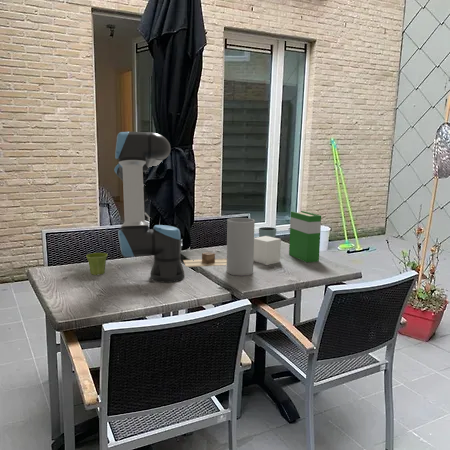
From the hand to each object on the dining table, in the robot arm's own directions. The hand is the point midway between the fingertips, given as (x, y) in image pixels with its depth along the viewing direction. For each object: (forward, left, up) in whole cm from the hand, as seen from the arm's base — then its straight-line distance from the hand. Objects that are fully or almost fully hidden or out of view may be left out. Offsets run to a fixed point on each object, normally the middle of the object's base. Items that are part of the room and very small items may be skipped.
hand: (162, 215), depth 239 cm
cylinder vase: (-38, -33, -22) cm, 55 cm away
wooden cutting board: (-20, -21, -22) cm, 36 cm away
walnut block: (-20, -21, -21) cm, 36 cm away
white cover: (-20, -51, -22) cm, 59 cm away
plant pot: (-30, +32, -22) cm, 49 cm away
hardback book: (-16, -74, -22) cm, 78 cm away
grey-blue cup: (+8, -60, -22) cm, 65 cm away
